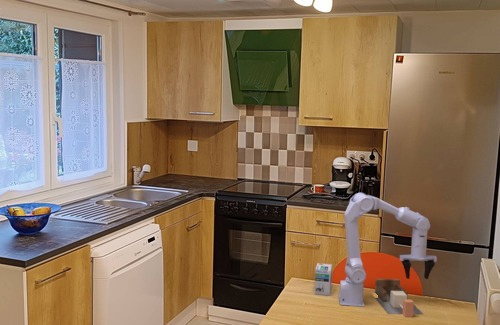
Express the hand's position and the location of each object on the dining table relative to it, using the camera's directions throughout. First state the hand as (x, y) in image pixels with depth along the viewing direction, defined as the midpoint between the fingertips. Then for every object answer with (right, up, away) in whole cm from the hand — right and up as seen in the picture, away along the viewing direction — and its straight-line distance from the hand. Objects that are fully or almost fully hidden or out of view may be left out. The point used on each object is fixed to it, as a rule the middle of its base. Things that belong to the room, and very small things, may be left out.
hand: (416, 278), depth 217 cm
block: (-8, -11, -8) cm, 15 cm away
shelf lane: (-9, -10, 0) cm, 13 cm away
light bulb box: (-36, -8, +12) cm, 39 cm away
